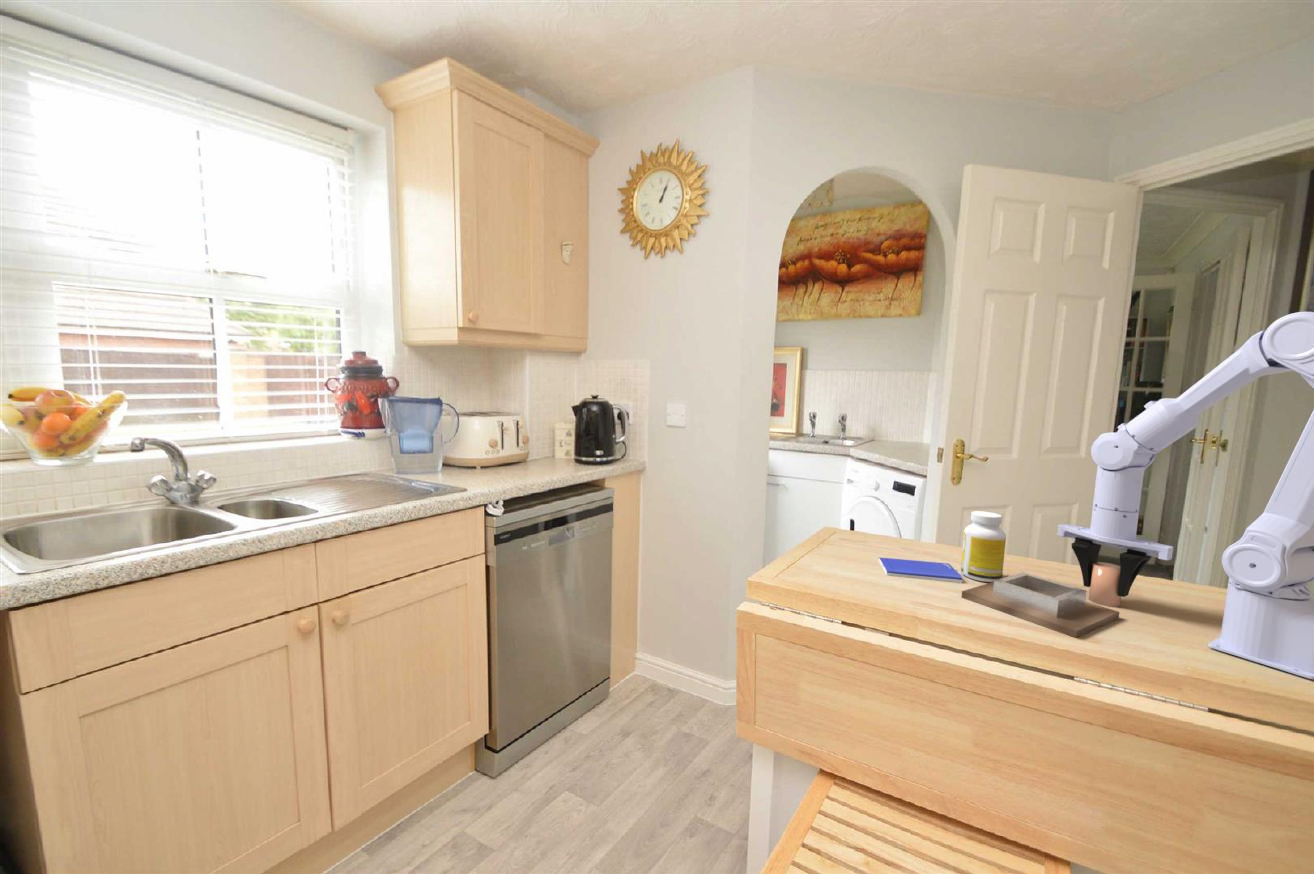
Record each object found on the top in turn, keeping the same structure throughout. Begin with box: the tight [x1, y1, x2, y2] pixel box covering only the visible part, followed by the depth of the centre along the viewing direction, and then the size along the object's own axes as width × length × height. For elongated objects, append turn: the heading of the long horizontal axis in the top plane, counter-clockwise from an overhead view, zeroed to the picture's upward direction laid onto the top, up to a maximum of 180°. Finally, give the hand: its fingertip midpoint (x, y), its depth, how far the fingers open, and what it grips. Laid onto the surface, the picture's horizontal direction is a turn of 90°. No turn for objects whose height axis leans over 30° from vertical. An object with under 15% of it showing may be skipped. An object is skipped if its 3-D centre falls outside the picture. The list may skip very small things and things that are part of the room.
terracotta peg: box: [1088, 561, 1122, 608], centre depth 90 cm, size 4×4×6 cm
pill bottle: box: [960, 510, 1007, 583], centre depth 99 cm, size 6×6×12 cm
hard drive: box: [878, 557, 963, 584], centre depth 102 cm, size 2×8×12 cm
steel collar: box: [993, 572, 1087, 618], centre depth 87 cm, size 9×9×2 cm
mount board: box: [961, 582, 1120, 639], centre depth 87 cm, size 16×14×1 cm
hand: (1105, 590), depth 90 cm, fingers closed on terracotta peg, 4 cm apart
